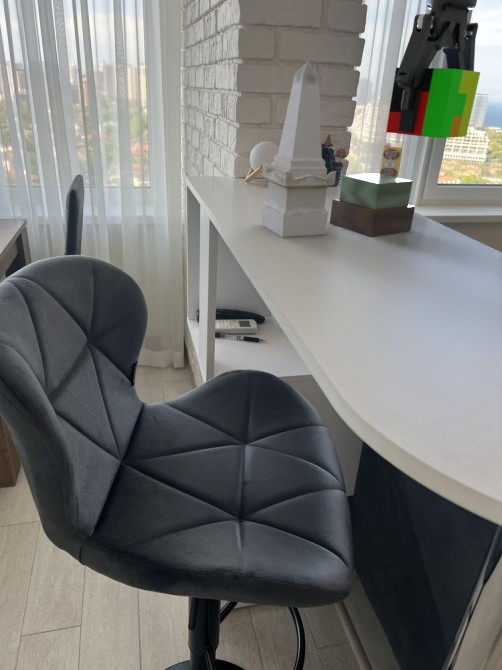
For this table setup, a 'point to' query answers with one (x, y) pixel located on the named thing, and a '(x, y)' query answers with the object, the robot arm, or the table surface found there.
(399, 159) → the candy box
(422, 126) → the puzzle toy
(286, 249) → the table surface
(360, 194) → the block stack
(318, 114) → the miniature monument
